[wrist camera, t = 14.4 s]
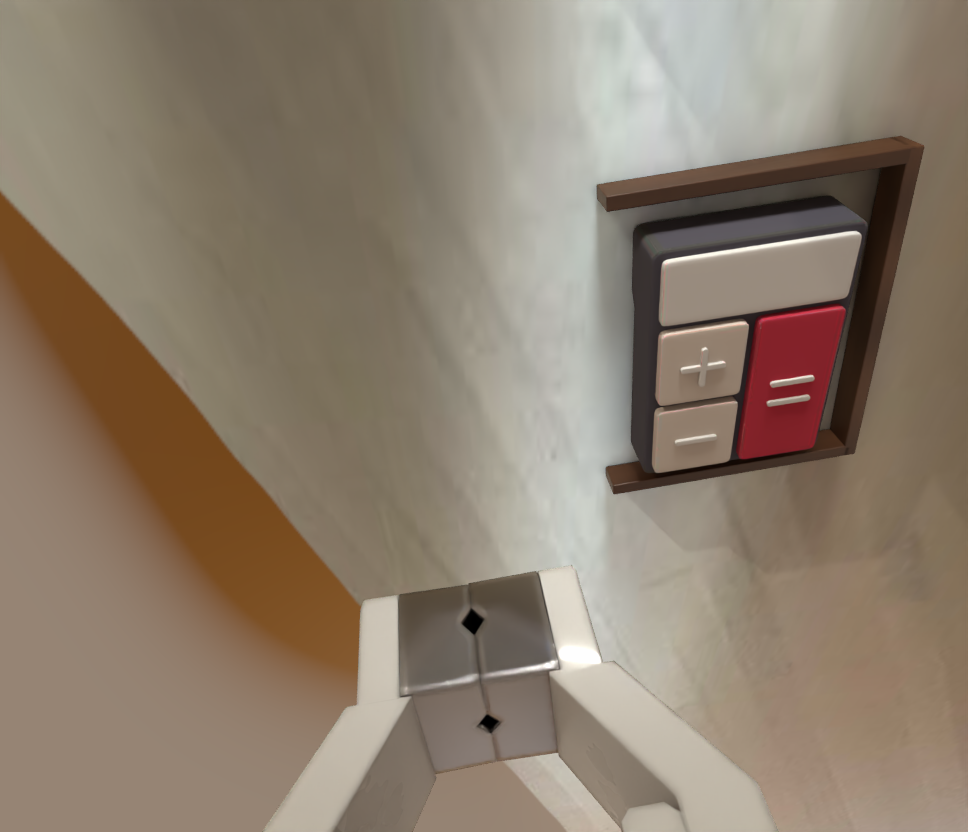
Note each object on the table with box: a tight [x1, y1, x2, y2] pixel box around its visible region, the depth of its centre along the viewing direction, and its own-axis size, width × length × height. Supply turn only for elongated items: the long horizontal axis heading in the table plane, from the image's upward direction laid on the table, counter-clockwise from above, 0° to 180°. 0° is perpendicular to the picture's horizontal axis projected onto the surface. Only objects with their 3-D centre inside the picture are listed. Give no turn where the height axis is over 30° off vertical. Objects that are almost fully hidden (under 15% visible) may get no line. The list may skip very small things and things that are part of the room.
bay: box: [597, 136, 924, 494], centre depth 42 cm, size 20×16×2 cm
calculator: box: [631, 196, 868, 473], centre depth 41 cm, size 11×4×15 cm
